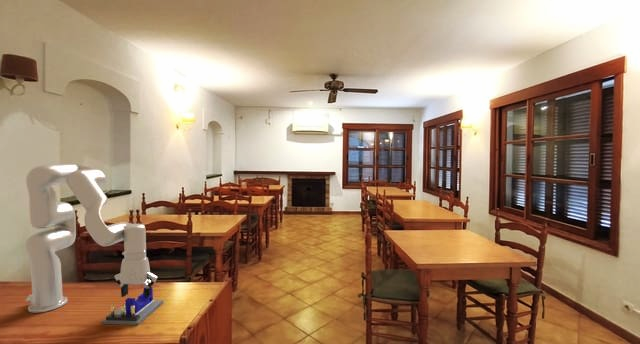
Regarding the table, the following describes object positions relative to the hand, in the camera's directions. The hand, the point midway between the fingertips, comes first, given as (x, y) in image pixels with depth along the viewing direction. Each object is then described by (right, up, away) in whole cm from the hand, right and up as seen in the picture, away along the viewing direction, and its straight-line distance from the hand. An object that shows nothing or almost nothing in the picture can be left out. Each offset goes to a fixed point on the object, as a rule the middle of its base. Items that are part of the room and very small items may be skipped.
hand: (136, 296), depth 130 cm
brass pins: (0, -5, -9) cm, 10 cm away
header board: (0, -6, -2) cm, 6 cm away
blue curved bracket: (+1, -5, 0) cm, 5 cm away
